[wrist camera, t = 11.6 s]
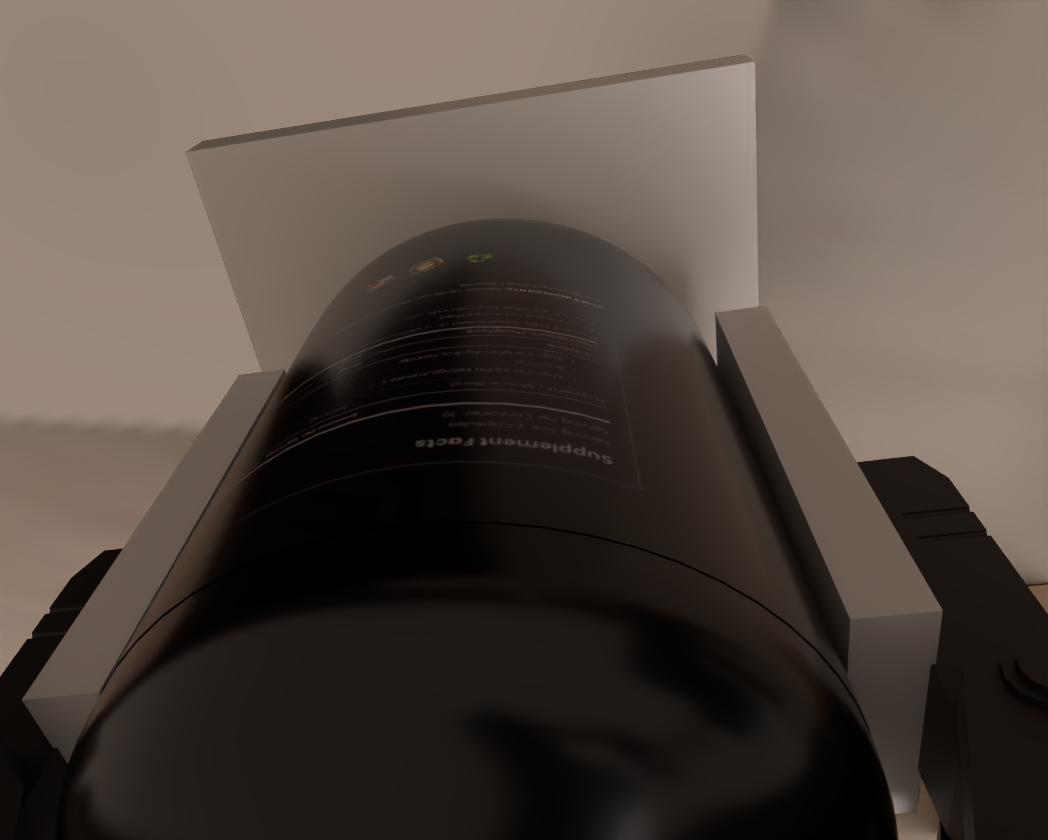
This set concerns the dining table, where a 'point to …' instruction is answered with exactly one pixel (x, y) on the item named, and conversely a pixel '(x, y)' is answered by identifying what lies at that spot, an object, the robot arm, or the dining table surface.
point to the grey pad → (495, 188)
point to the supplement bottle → (486, 588)
